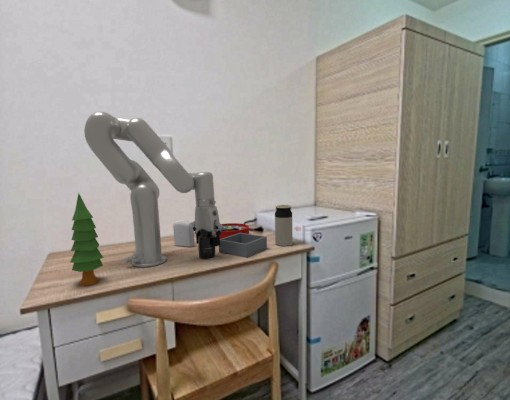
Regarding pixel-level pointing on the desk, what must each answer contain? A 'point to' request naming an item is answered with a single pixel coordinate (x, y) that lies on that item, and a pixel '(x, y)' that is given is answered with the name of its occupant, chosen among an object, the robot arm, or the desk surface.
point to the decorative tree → (85, 244)
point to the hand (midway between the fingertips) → (208, 244)
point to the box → (243, 244)
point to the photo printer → (183, 233)
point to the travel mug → (283, 225)
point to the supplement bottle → (206, 245)
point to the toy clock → (233, 229)
